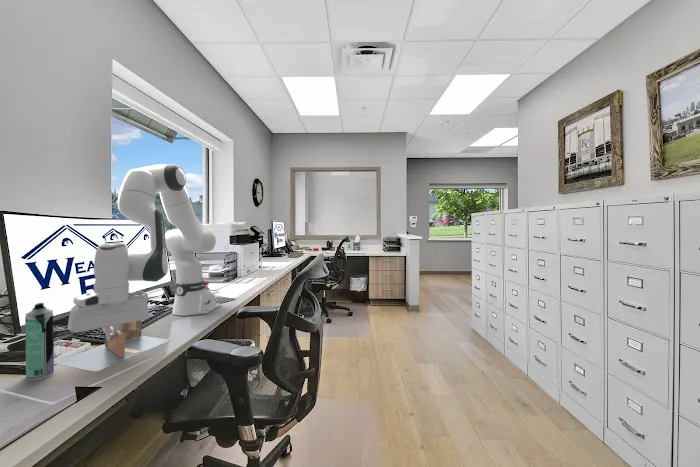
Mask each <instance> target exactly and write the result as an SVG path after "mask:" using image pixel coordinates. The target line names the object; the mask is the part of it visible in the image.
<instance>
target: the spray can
mask: <svg viewBox="0 0 700 467" xmlns="http://www.w3.org/2000/svg"><path fill="white" fill-rule="evenodd" d="M53 312H54V311H53V310H52V309H50V308H47V306H45V305H44V302H39V303H36V304H34V307H33V308H32V309H31V310H30V311H29V312H27V313H25V318H24V322H25V323H24V324H25V325H24V326H25V327H24V329H25V334H24V336H25V377H26V378H25V379H26V380H28V381H36V380H41V379H44V378H48V377H49V376H51V375H53V374H54V373H55V364H54V362H55V355H54V354H55V347H54V344H55V343H54V342H55V341H54V336H55V335H54V332H55V331H54V313H53Z"/></svg>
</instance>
